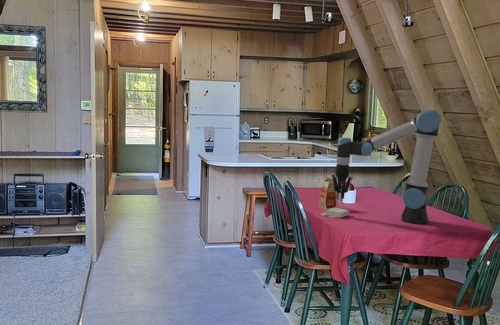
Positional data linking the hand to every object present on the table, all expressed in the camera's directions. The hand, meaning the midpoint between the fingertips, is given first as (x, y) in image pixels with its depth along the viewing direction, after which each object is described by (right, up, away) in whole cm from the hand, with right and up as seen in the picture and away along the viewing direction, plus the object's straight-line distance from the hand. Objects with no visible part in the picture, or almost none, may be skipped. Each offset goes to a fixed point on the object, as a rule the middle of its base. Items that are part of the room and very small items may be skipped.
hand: (340, 203), depth 283 cm
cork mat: (-3, -7, +3) cm, 8 cm away
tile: (+3, -6, -2) cm, 7 cm away
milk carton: (-4, -5, +22) cm, 23 cm away
